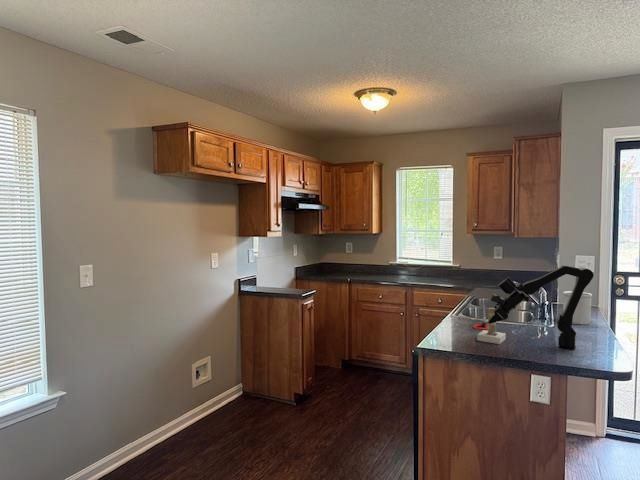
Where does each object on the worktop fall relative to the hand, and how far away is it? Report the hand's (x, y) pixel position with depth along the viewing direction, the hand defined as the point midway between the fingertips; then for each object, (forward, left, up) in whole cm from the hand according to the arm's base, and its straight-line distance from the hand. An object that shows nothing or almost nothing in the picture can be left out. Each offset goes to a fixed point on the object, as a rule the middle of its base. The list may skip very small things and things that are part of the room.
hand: (488, 320), depth 220 cm
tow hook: (+10, -22, -10) cm, 26 cm away
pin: (-1, 0, -10) cm, 10 cm away
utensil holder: (-32, -71, -10) cm, 79 cm away
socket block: (-1, 0, -10) cm, 10 cm away
